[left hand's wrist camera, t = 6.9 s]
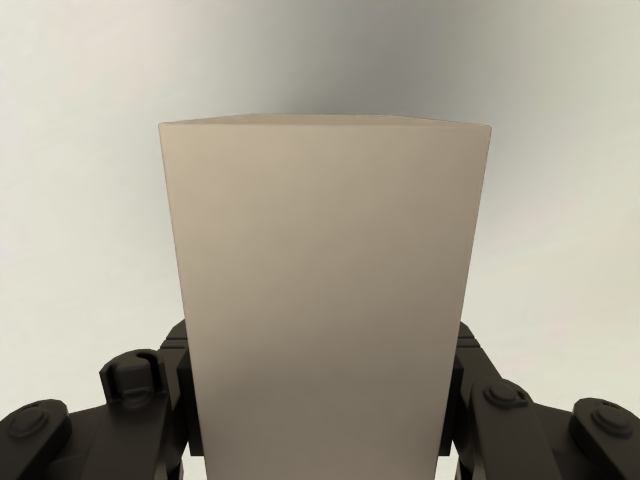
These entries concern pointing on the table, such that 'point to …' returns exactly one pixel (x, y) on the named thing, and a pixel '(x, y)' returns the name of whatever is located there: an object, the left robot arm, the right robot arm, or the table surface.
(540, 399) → the table surface
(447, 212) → the post
